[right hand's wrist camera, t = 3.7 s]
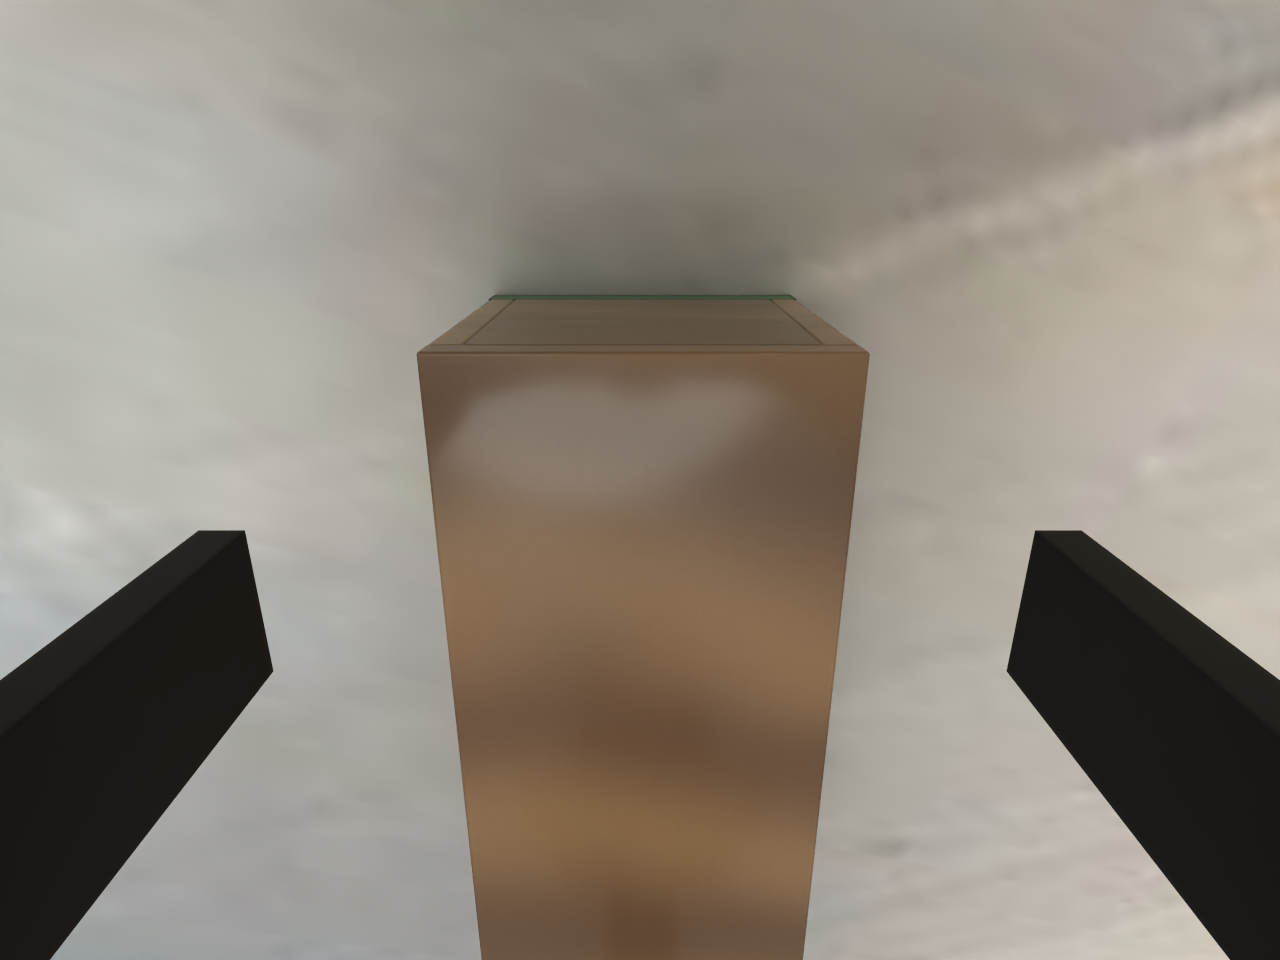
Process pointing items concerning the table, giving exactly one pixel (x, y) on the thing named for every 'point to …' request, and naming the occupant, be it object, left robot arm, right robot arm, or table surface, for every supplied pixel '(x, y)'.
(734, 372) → the cabinet
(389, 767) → the table surface
